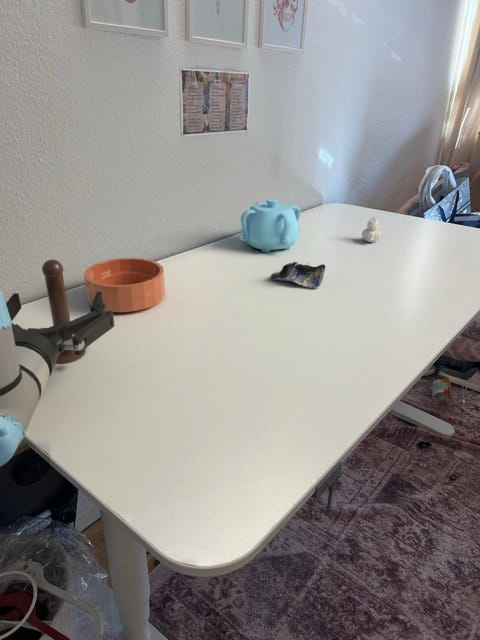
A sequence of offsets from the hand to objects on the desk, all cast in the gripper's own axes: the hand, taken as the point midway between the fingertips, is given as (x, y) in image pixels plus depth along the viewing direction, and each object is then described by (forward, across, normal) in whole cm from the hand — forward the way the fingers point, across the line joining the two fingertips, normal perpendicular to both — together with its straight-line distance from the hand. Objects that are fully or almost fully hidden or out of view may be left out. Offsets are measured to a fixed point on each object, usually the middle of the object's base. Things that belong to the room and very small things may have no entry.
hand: (59, 299), depth 81 cm
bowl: (+22, +8, -10) cm, 25 cm away
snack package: (+30, +48, -10) cm, 57 cm away
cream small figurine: (+59, +77, -10) cm, 97 cm away
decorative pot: (+57, +45, -10) cm, 73 cm away
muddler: (-1, 0, -10) cm, 10 cm away
